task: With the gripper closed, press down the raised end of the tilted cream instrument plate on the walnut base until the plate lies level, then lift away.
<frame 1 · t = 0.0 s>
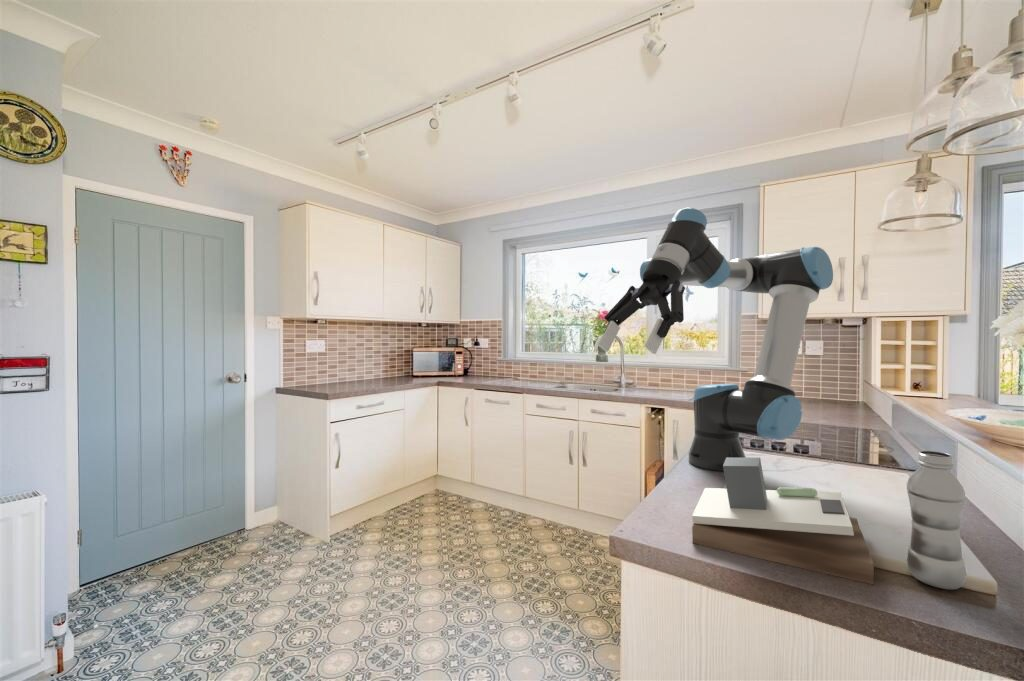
hand: (624, 349, 89), 36 cm above the countertop, tool tilted 35°, fingers open, 13 cm apart
plastic bottle: (935, 584, 66), on the countertop
walnut base: (775, 538, 80), on the countertop
instrument plate: (763, 486, 81), point 10 cm above the countertop, hinge at 8.0°
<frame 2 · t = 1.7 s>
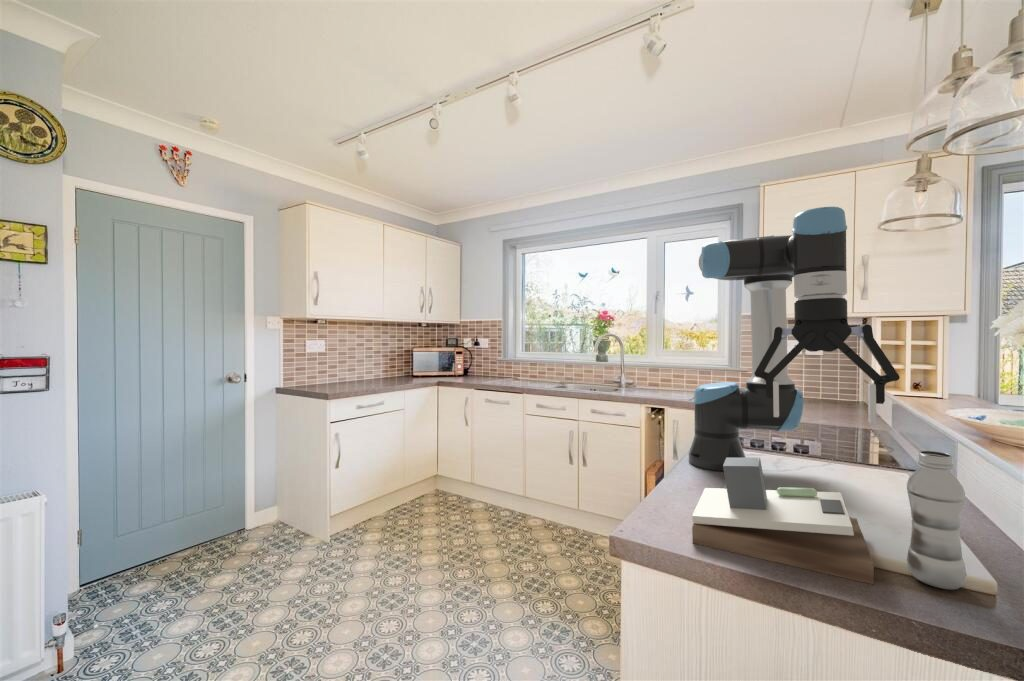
hand: (821, 419, 75), 23 cm above the countertop, tool pointing down, fingers open, 13 cm apart
nothing on the countertop moved.
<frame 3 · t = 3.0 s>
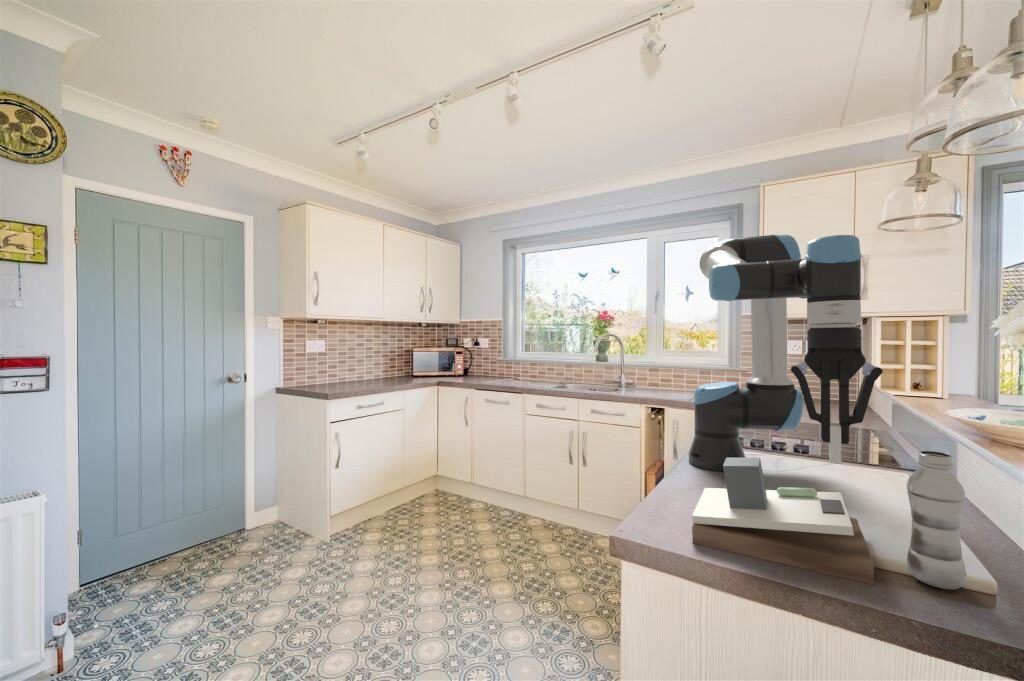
hand: (835, 461, 74), 16 cm above the countertop, tool pointing down, fingers closed
nothing on the countertop moved.
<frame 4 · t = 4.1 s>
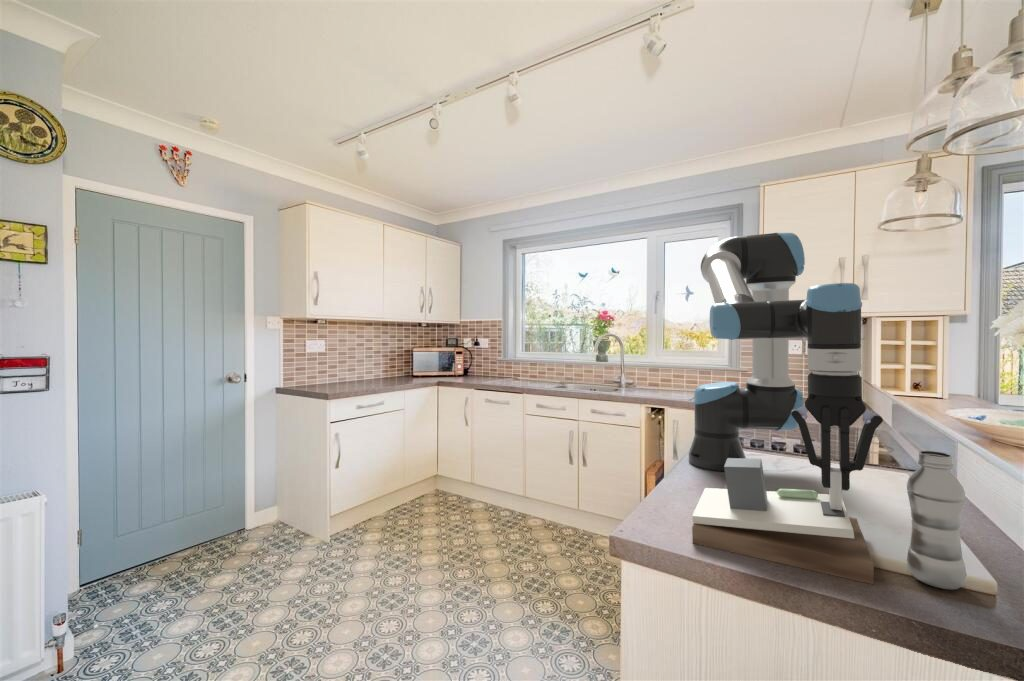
hand: (835, 506, 75), 8 cm above the countertop, tool pointing down, fingers closed
instrument plate: (764, 487, 81), point 9 cm above the countertop, hinge at 6.9°, touching gripper
everything else where it was.
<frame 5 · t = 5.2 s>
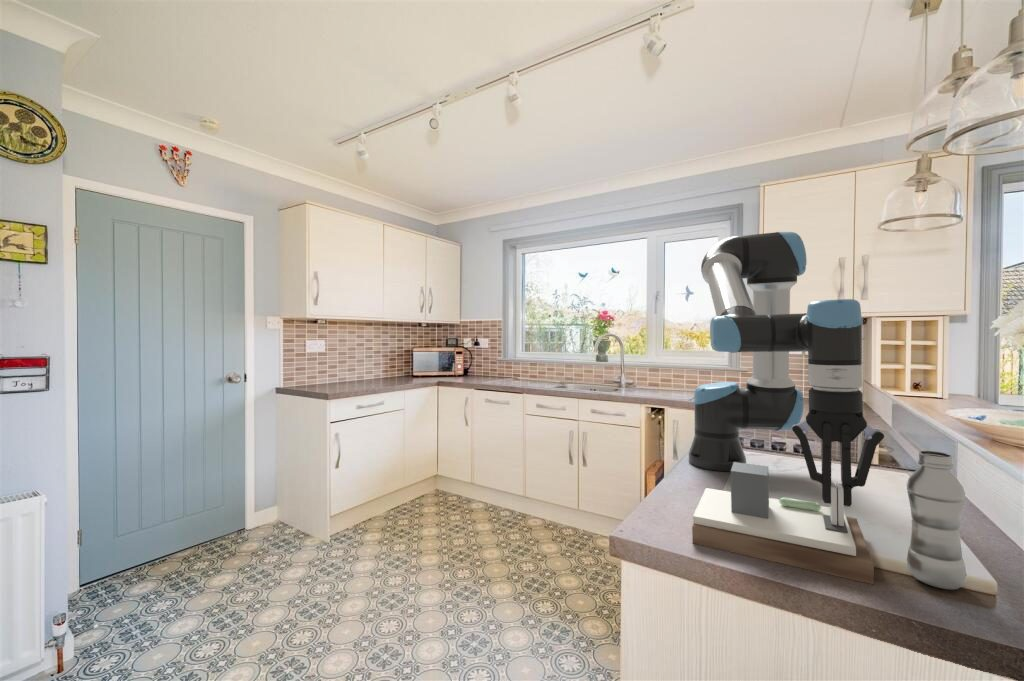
hand: (836, 522, 75), 5 cm above the countertop, tool pointing down, fingers closed
instrument plate: (768, 495, 80), point 8 cm above the countertop, hinge at 0.2°, touching gripper
everything else where it was.
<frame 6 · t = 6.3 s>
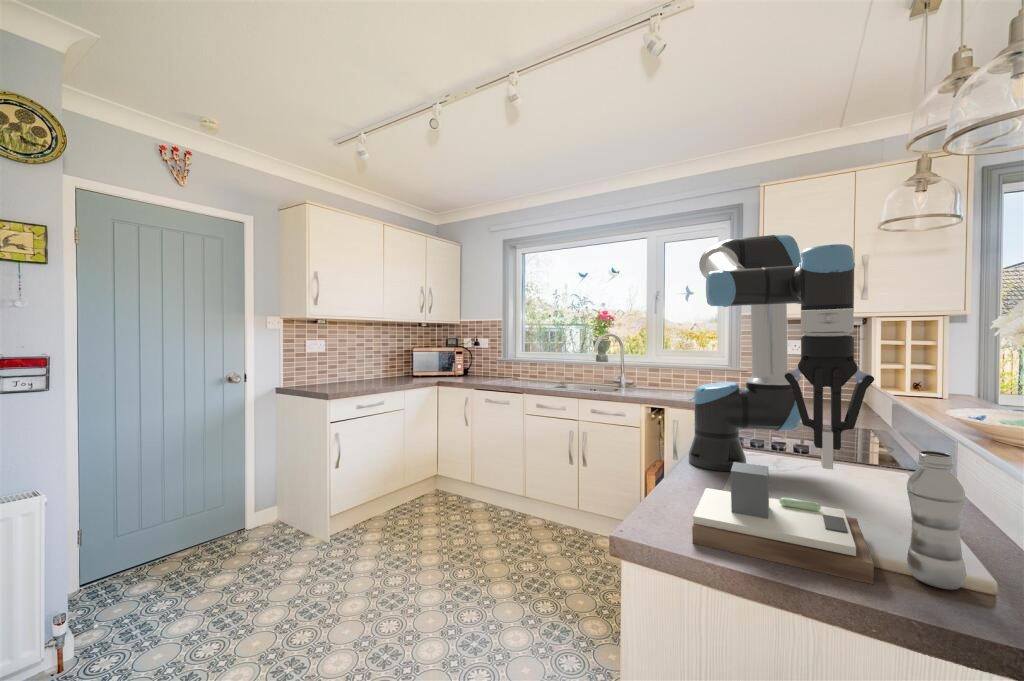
hand: (827, 466, 76), 15 cm above the countertop, tool pointing down, fingers closed
instrument plate: (768, 495, 80), point 8 cm above the countertop, hinge at 0.2°
everything else where it was.
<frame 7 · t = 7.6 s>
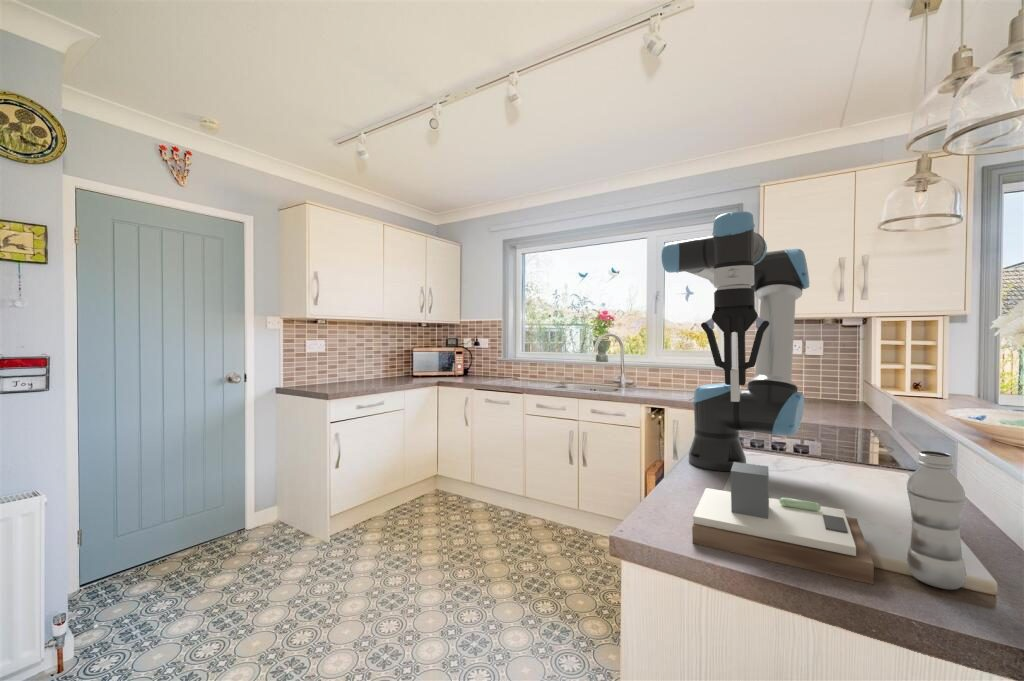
hand: (735, 400, 90), 24 cm above the countertop, tool pointing down, fingers closed
nothing on the countertop moved.
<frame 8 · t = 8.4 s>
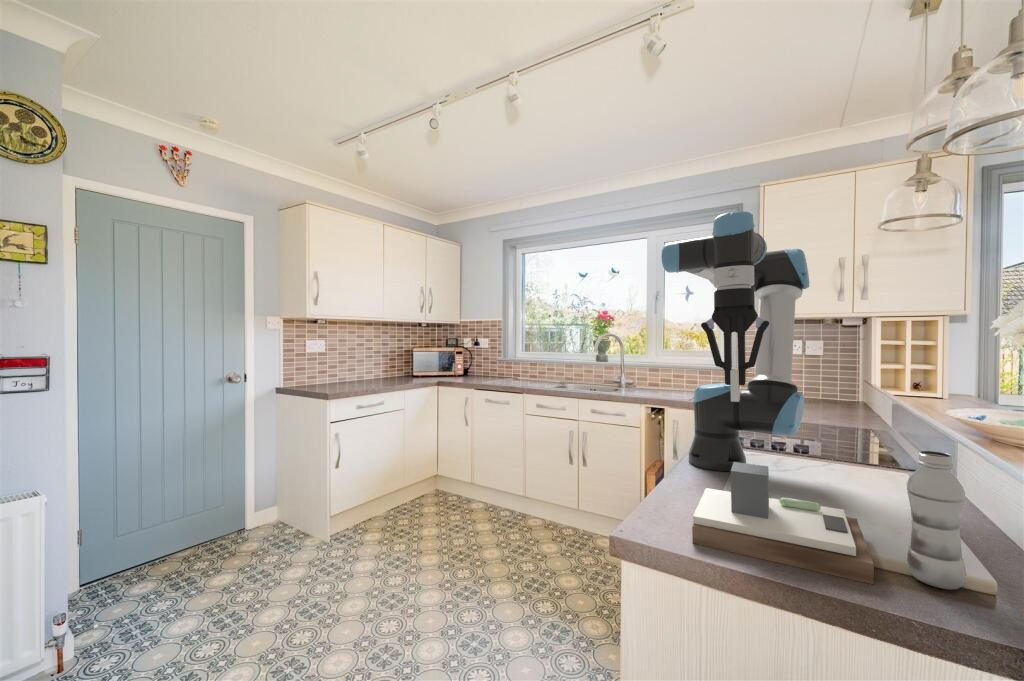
hand: (735, 400, 90), 24 cm above the countertop, tool pointing down, fingers closed
nothing on the countertop moved.
at the end: instrument plate at +0° (first picture: +8°); plastic bottle moved 0.2 cm from its start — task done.
